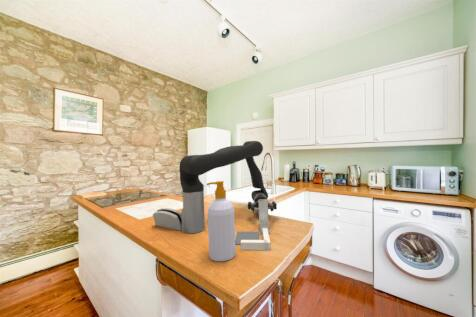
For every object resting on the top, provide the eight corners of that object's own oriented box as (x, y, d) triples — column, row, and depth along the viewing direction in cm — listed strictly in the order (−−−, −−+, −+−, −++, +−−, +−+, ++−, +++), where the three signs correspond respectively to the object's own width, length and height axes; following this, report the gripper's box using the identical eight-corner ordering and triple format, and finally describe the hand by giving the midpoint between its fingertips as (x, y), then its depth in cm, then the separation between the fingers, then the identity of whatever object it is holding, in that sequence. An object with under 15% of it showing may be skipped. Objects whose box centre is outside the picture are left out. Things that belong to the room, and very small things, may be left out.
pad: (234, 244, 64) (234, 244, 64) (237, 232, 75) (237, 231, 75) (259, 245, 63) (259, 244, 63) (258, 232, 74) (258, 231, 74)
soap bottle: (201, 256, 57) (199, 182, 57) (224, 245, 64) (221, 179, 64) (218, 266, 51) (215, 184, 51) (241, 253, 57) (238, 180, 58)
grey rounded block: (189, 226, 83) (183, 208, 80) (182, 233, 79) (175, 214, 76) (163, 221, 90) (157, 205, 87) (156, 228, 86) (149, 210, 83)
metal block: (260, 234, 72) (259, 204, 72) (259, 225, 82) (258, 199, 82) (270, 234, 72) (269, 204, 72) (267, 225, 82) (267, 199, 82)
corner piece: (240, 249, 60) (240, 242, 60) (242, 234, 72) (242, 228, 72) (270, 250, 59) (270, 242, 59) (267, 234, 72) (267, 228, 72)
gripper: (248, 194, 100) (247, 201, 83) (273, 194, 98) (277, 201, 82) (248, 208, 99) (247, 217, 83) (274, 207, 98) (278, 217, 82)
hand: (262, 209), depth 83 cm, fingers open, 8 cm apart
